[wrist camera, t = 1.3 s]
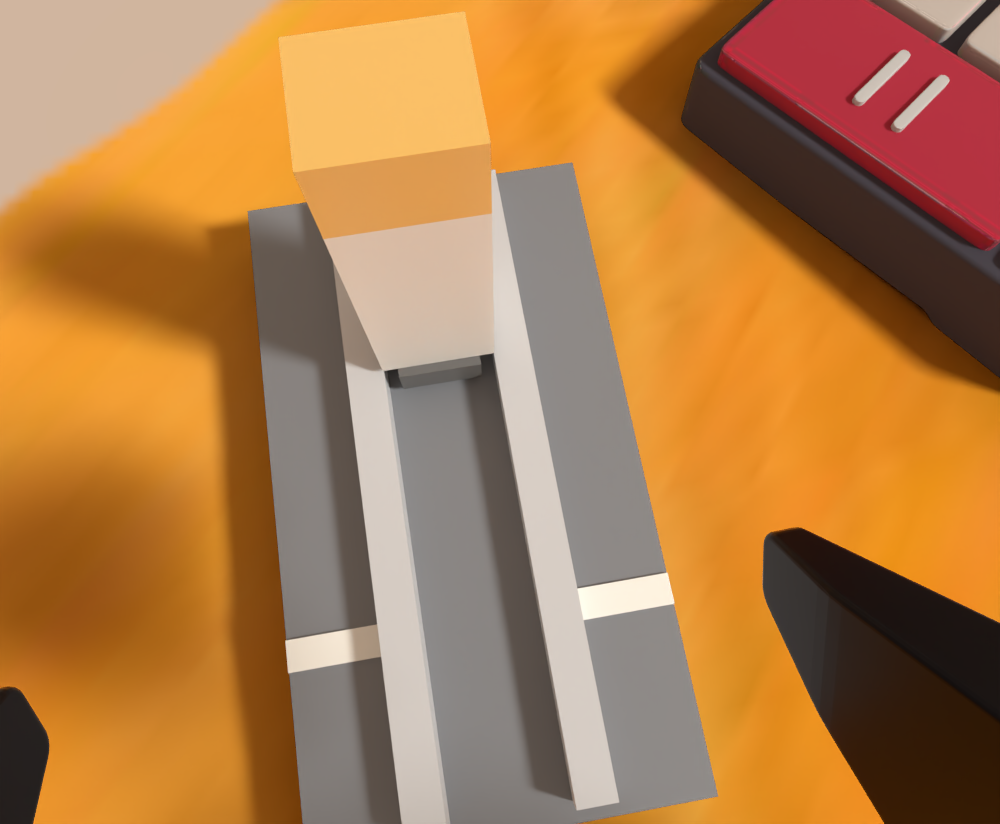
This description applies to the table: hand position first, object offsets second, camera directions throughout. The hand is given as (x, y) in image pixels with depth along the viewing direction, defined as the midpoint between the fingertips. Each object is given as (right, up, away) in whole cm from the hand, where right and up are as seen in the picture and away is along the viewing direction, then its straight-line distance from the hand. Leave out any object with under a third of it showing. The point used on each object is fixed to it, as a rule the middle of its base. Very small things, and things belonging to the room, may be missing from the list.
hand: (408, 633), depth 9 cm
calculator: (+16, +11, +17) cm, 26 cm away
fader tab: (-1, +5, +12) cm, 13 cm away
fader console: (0, +1, +13) cm, 13 cm away
